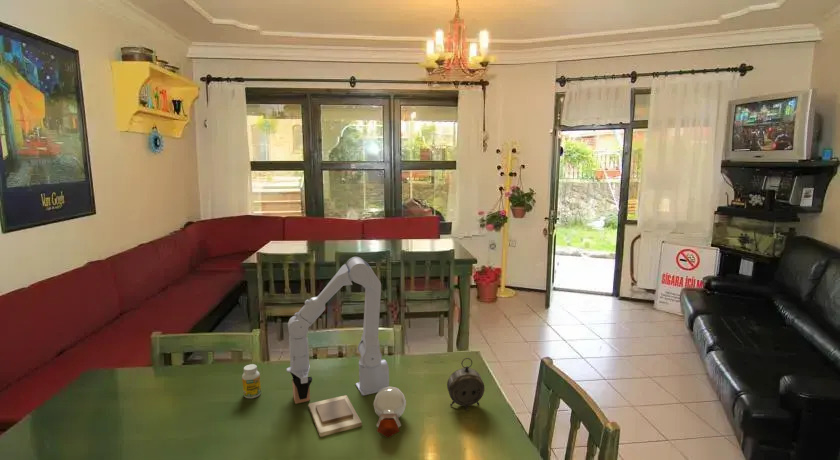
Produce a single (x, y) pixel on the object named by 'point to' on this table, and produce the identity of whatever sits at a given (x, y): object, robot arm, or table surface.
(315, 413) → the base board
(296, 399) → the block
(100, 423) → the table surface
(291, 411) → the table surface
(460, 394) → the alarm clock
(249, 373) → the supplement bottle
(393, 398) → the potion bottle
